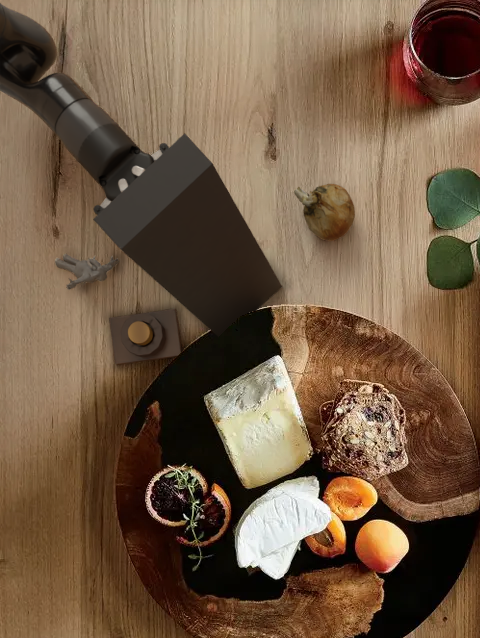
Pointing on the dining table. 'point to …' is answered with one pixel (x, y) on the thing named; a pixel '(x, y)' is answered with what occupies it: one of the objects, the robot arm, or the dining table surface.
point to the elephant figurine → (85, 269)
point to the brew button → (140, 333)
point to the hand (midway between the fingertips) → (180, 232)
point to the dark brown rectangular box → (191, 237)
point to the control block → (159, 347)
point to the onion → (327, 211)
